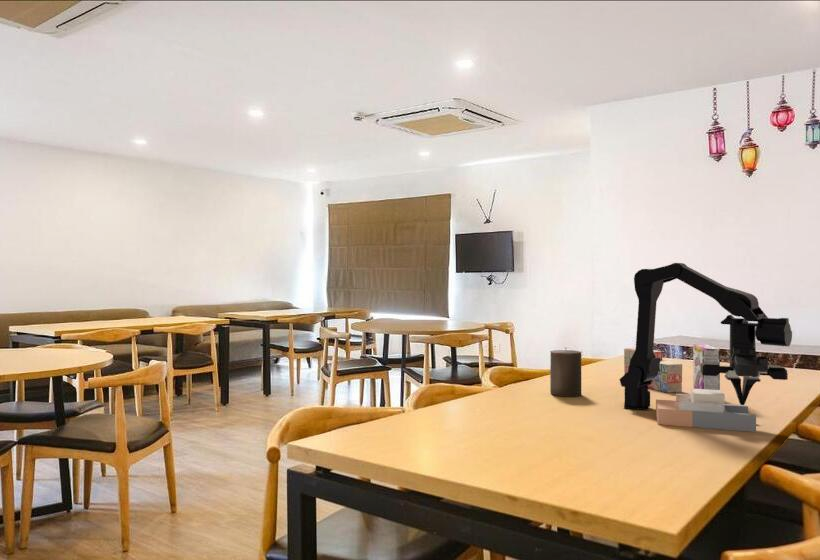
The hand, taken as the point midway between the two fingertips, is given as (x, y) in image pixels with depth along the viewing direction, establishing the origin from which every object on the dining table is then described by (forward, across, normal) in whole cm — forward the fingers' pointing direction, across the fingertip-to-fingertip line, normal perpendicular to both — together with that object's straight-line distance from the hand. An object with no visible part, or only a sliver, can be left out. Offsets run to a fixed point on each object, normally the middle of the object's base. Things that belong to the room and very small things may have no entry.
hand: (742, 404), depth 151 cm
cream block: (+1, -8, 0) cm, 8 cm away
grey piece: (+5, -9, 0) cm, 10 cm away
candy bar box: (+6, -5, +31) cm, 32 cm away
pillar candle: (+6, -46, +26) cm, 53 cm away
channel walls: (+1, -10, 0) cm, 10 cm away
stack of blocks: (+6, -20, +50) cm, 54 cm away
